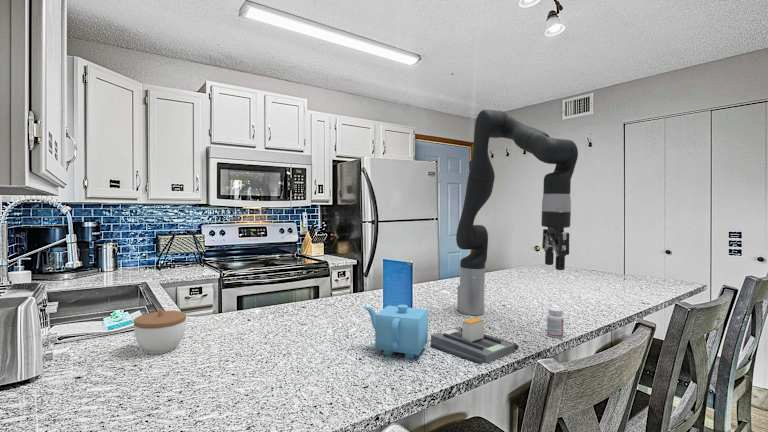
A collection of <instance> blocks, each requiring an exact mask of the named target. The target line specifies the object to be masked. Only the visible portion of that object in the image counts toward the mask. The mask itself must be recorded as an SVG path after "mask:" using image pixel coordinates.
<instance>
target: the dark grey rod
mask: <svg viewBox="0 0 768 432" xmlns="http://www.w3.org/2000/svg"><path fill="white" fill-rule="evenodd" d="M484 335H486V336H489V337H492V338H496V339H499V340H502V341H505V342H508V343H511V344H514V345H515V349H516V350H518V349H519V347H520V346H519V345H518V344H516V343H514V342H510V341H507V340H504V339H500V338H497V337H495V336H492V335H488V334H485V333H484Z"/></svg>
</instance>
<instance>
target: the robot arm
mask: <svg viewBox="0 0 768 432" xmlns="http://www.w3.org/2000/svg"><path fill="white" fill-rule="evenodd" d="M474 123H475V124H474V131H473V143H472V153H471V154H472V155H471V161H470V167H469V170H468V171H469V172H468V176H467V177H468V178H467V182H466V188H465V189H466V190H465V195H464V196H465V197H464V199H463V200H464V201H463V206H462V210H461V214H460V215H461V216H460V218H459V223H458V224H457V225H458V227H457V229H456V236H455V240H456V246H457V247H458V248H459V249H460V250H471V252H470V253H469V254H468V255H467V256H465V257H462V258H461V259H460V260H459V261H460V262H459V263H460V265H459V285H458V286H457V294H456V295H457V296H456V298H457V300H456V302H457V305H456V310H457V311H459V313H461V314H463V315H469V316H478V315H479V316H480V315H484V313H485V287H486V286H485V285H486V282H485V280H486V262H487V258H488V247H489V233H488V230H487V228H486V226H484V225H482V224H481V225H480V224H474V222H475V219H476V216H477V215H478V213H479V211H480V210H481V209H482V208H483V207H484V206H485V204H486V203H487V202H488V200H489V199H490V197H491V196H492V193H493V190H494V189H493V188H494V183H495V178H496V176H495V171H494V167H493V164H492V162H491V159H490V156H489V142H490V138H491V139H493V138H494V139H499V138H500V139H501V138H502V139H503V138H504V139H508V140H512V141H513V142H514V144H515V145H516V146H517V147H518V148H520V149H521V150H523V151H525V152H527V153H529V154H532V155H533V156H534V157H535V158H536V159H537V160H539V161H540V162H542V163H545V164H549V165H555V167H554V169H553V172H549V173H547V174H545V175H544V177H543V192H542V193H543V195H542V200H541V223H540V224H541V227H543V230H542V243H541V244H542V245H541V248H542V250H543V251H544V252H545V253H544V264H545V265H547V266H553V265H555V267H554V268H555V270H557V271H565V270H566V269H565V266H566V257H567V256H569V255H570V232H566V231H565V230H564V229H567V228H570V227H571V219H572V218H571V216H572V215H571V213H572V200H571V183H572V182H571V180H572V177H573V175H574V172H575V167H576V164H577V161H578V158H579V157H578V156H579V150H578V146H577V144H576V143H575V142H574V141H573V140H571V139H564V138H555V137H554V138H553V137H550V135H549V134H548V133H546V132H545V131H542V130H539V129H537V128H534V127H532V126H529V125H527V124H524V123H522V122H521V121H519V120H517V119H515V118H514V117H513V116H511V115H510V114H509V113H507V112H505V111H503V110H494V109H482V110H481V111H479V113H478V114H477V115H476V119H475V122H474ZM544 227H545V228H544ZM554 252H555V253H554ZM554 254H555V255H554ZM554 256H555V261H554ZM554 262H555V264H554Z"/></svg>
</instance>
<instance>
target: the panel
mask: <svg viewBox="0 0 768 432" xmlns="http://www.w3.org/2000/svg"><path fill="white" fill-rule="evenodd" d="M486 335H487V334H486ZM486 335H484V338H481V339H478V340H475V341H472V342H469V341H466V340H463V339H462V326H457V327H454V328H450V329H446V330H443V331H439V332H436V333H433V334H430V342H431V343H432V342H433V343H436V344H439V345H442V346H445V347H448V348H451V349H454V350H457V351H460V352H463V353H466V354H469V355H472V356H475V357H477V358H480V359H482V363H485V364H488V363H490V362H492V361H495V360H497V359H500V358H502V357H505V356H507V355H510V354H512V353H515V345H514V344H515V343H514V344H511V343H512V342H511V343H508V342H509V341H507V342H505V341H506V340H504V341H502V340H503V339H501V340H499V339H500V338H498V339H496V338H497V337H495V338H492V337H493V336H492V337H489V336H490V335H489V336H486Z"/></svg>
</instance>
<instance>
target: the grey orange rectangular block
mask: <svg viewBox="0 0 768 432" xmlns="http://www.w3.org/2000/svg"><path fill="white" fill-rule="evenodd" d="M461 322H462V324H461V325H462V326H461V327H462V339H463V340H466V341H469V342H472V341H475V340H478V339H481V338H484V334H485V333H484V332H485V329H484V328H485V319H483V318H479V317H472V318H471V317H470V318H467V319H465V320H462V321H461Z"/></svg>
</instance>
